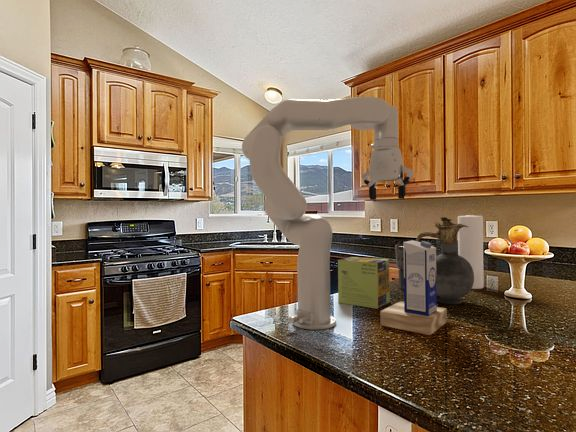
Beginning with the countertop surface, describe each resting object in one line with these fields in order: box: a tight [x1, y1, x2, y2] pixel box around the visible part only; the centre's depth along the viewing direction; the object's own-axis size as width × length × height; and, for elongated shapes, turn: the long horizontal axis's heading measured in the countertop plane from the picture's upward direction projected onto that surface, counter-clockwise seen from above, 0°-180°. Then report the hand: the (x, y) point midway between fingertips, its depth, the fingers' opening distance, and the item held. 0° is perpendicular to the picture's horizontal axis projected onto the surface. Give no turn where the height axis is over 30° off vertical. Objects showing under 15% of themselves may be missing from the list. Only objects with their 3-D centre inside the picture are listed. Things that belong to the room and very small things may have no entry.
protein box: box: [337, 256, 391, 310], centre depth 130 cm, size 10×15×16 cm
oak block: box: [379, 300, 448, 336], centre depth 105 cm, size 14×14×4 cm
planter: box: [394, 243, 404, 290], centre depth 153 cm, size 13×13×18 cm
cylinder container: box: [457, 214, 485, 290], centre depth 153 cm, size 9×9×30 cm
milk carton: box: [402, 239, 438, 316], centre depth 103 cm, size 7×7×20 cm
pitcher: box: [415, 216, 474, 305], centre depth 129 cm, size 11×19×30 cm, turn 60°
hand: (386, 199), depth 117 cm, fingers open, 9 cm apart
